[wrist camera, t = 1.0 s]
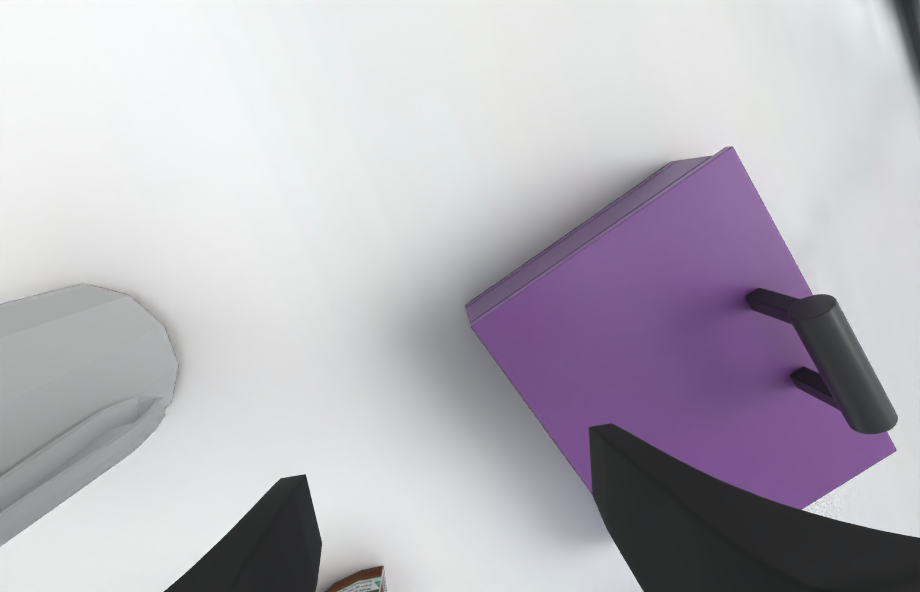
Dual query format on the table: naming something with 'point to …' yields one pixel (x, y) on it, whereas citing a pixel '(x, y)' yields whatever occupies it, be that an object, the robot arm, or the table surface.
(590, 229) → the box
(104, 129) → the table surface
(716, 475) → the lid
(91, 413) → the water bottle
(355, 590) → the food container
